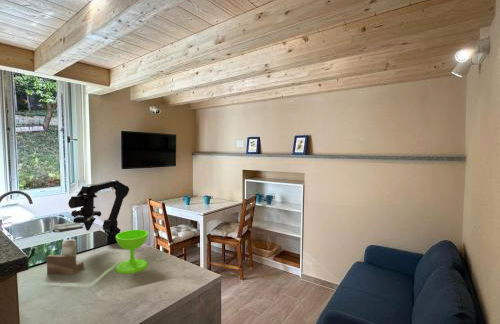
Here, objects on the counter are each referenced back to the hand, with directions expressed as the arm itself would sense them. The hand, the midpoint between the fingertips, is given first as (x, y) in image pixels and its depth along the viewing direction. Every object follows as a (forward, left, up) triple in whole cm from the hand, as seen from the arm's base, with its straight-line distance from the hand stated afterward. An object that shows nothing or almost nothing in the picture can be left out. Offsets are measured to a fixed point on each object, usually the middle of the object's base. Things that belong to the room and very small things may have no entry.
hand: (87, 230), depth 159 cm
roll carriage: (+14, +21, -12) cm, 28 cm away
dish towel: (-1, -61, -14) cm, 63 cm away
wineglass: (-11, +39, -13) cm, 42 cm away
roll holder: (+12, +19, -13) cm, 26 cm away
